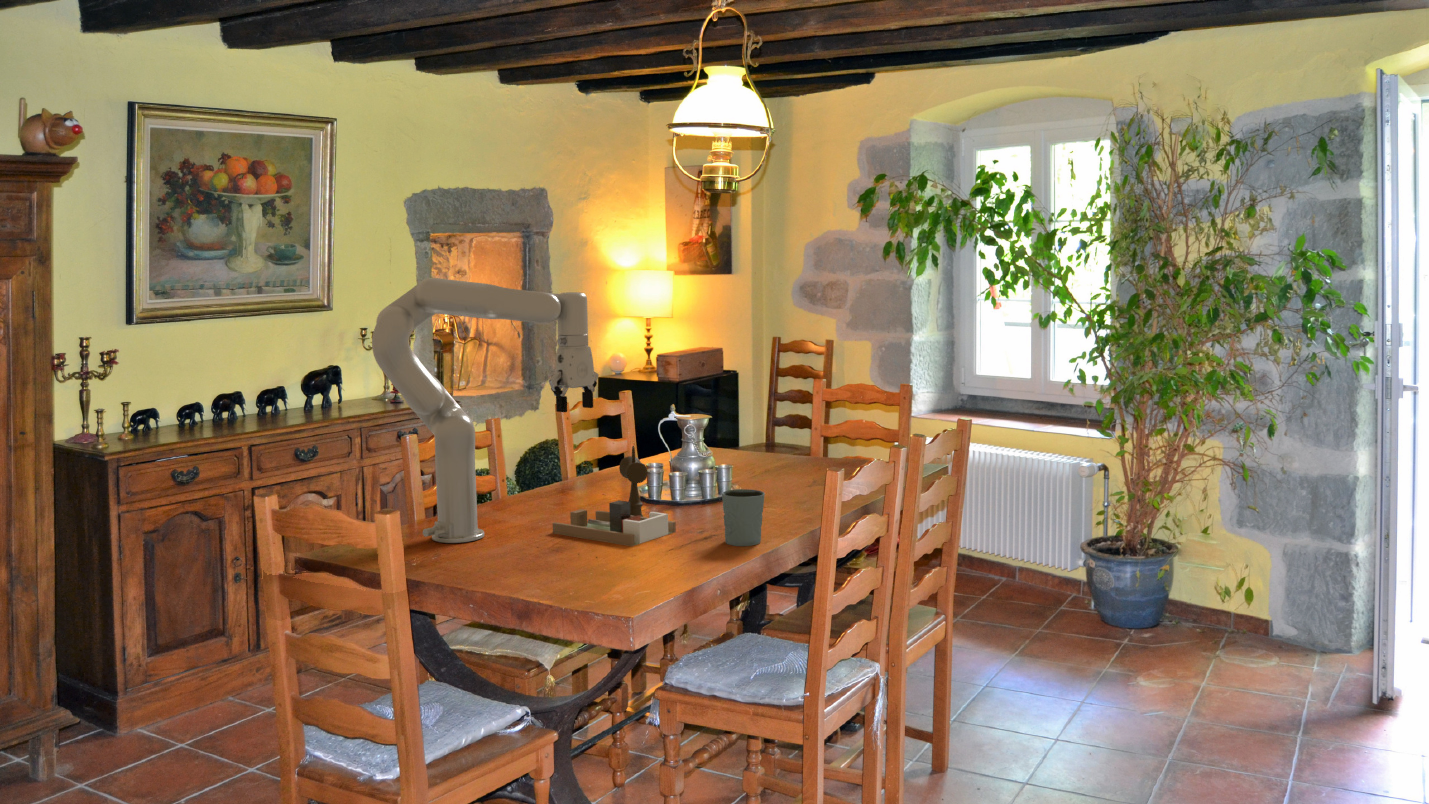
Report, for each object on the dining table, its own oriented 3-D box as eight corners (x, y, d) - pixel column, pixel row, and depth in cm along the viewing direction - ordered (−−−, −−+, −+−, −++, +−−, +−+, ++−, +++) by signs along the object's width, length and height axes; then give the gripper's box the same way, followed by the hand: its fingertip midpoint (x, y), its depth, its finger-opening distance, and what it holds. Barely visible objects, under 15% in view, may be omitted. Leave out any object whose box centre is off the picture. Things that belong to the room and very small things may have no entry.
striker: (625, 536, 275) (624, 506, 274) (581, 529, 283) (580, 500, 282) (640, 531, 280) (640, 502, 279) (597, 524, 288) (596, 496, 287)
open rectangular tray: (632, 551, 267) (631, 525, 267) (553, 537, 282) (552, 512, 281) (675, 536, 281) (675, 511, 280) (598, 524, 295) (597, 500, 295)
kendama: (642, 517, 304) (640, 442, 301) (650, 524, 294) (648, 447, 292) (619, 518, 302) (618, 443, 300) (627, 526, 293) (625, 449, 290)
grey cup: (714, 543, 274) (713, 493, 273) (739, 534, 282) (738, 486, 281) (748, 549, 268) (747, 498, 267) (773, 540, 276) (772, 491, 274)
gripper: (560, 344, 277) (562, 414, 279) (607, 340, 291) (608, 407, 293) (538, 343, 282) (540, 412, 284) (584, 339, 296) (586, 405, 298)
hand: (575, 409), depth 289 cm, fingers open, 9 cm apart
